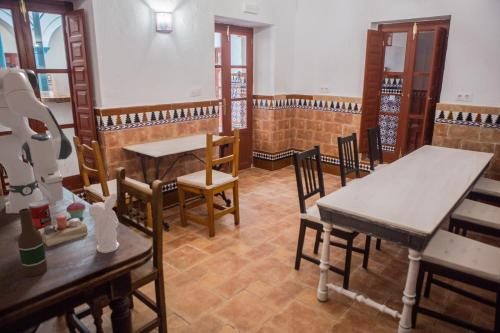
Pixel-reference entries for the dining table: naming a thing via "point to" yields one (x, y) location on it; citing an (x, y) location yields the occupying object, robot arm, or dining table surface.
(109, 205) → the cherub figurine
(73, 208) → the cupcake
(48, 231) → the graphite plug
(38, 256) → the beer bottle
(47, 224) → the canned food
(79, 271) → the dining table surface
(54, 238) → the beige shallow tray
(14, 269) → the dining table surface
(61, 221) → the red plug
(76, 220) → the white rounded piece
